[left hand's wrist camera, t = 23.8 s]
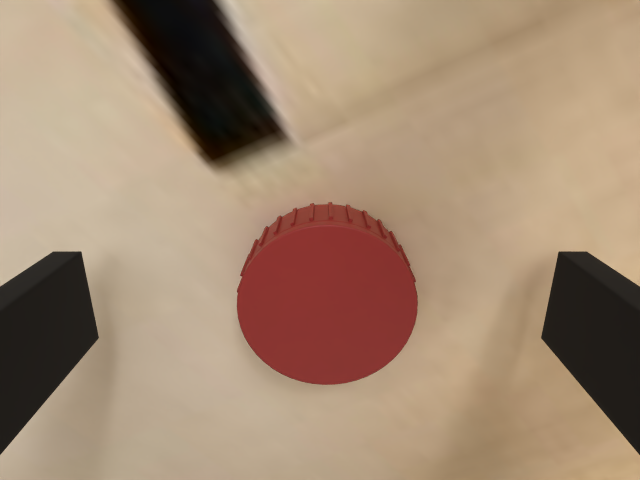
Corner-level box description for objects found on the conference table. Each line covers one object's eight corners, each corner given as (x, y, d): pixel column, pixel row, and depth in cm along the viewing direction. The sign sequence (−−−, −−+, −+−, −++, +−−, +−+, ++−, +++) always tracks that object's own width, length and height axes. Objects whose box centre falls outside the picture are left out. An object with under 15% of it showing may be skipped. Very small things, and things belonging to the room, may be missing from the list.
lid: (415, 204, 13) (431, 225, 11) (398, 350, 15) (409, 390, 13) (244, 197, 13) (230, 218, 11) (247, 345, 15) (236, 384, 13)
